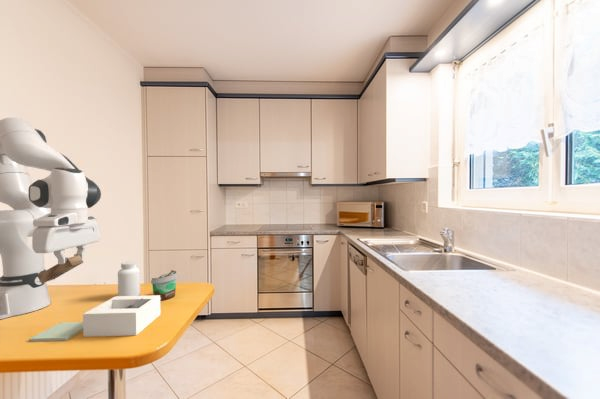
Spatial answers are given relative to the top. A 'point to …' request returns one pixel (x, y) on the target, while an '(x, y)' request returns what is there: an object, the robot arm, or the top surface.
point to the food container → (165, 285)
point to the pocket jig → (121, 316)
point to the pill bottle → (129, 279)
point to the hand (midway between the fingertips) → (71, 261)
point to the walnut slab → (60, 269)
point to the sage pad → (59, 332)
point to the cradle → (136, 304)
